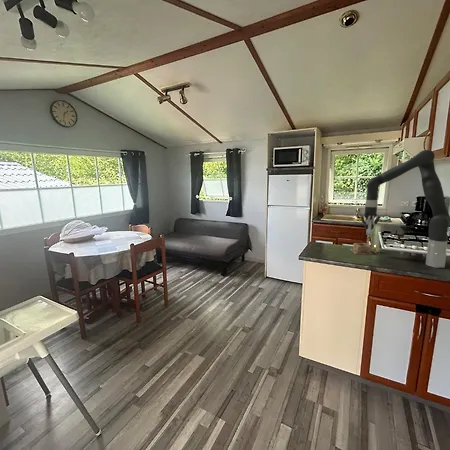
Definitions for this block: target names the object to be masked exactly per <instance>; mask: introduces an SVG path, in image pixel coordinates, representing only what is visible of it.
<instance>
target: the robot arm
mask: <svg viewBox="0 0 450 450" xmlns="http://www.w3.org/2000/svg"><path fill="white" fill-rule="evenodd" d="M434 161H435V152H434V151H432V150H431V149H423V150H420V151H419V152H418V153H417V154H416V155H414V156H413V157H411V158H409V159H408V160H407V161H404V162H402V163H401V164H398V165H396V166H393V167H392V168H389V169H388V170H386V171H384V172H382V173H380V174H378V175H376V176H374V177H372V178H370V179H369V180H368V181H367V189H366V191H367V192H366V199H365V204H364V205H365V207H364V214H363V215H360V216H359V218H360V220H361V223H362V224H363V225H364V229H365V230H367V229H368V225H367V224H368V222H369V219H372V228H371V231H372V230H374V227H375V225H377V224H378V222H379V221H380V219H381V216H380V215H378V214H377V212H378V203H379V202H378V200H379V199H378V198H379V193H378V192H379V186H381V185H383V184H385V183H388V182H390V181H393V180H394V179H397V178H399V177H400V176H402V175H404V174H405V173H407V172H409V171H411V170H413V169H415V168H417V167H418V169H419V172H420V175H421V176H420V177H421V185H422V189H423V190H422V191H423V193H424V197H425V199H426V201H427V203H428V204H429V206H430V208H431V212H432V217H431V218H430V220H429V223H428V224H429V225H428V240H427V241H428V242H427V249H426V258H425V265H426V266H429V267H432V268H437V269H438V268H442V269H444V268H446V267H445V266H446V260H447V247H448V238H449V237H448V231H449V227H450V214H449V211H448V208H447V206H446V205H447V204H446V199H445V194H444V190H443V186H442V182H441V180H440V178H439V176H438V174H437V172H436V169H435V162H434Z"/></svg>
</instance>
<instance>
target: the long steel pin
mask: <svg viewBox="0 0 450 450" xmlns="http://www.w3.org/2000/svg"><path fill="white" fill-rule="evenodd" d="M367 225H368V229H367V230H366V229H365V230H366V233H365V235H366V236H371V235H372V230H371V228H372V219H369V222H368V224H367Z"/></svg>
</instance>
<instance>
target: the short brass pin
mask: <svg viewBox="0 0 450 450" xmlns="http://www.w3.org/2000/svg"><path fill="white" fill-rule="evenodd" d="M379 247H380V246H379V244H377V243H376V244H374V245H373V254H379Z"/></svg>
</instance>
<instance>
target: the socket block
mask: <svg viewBox="0 0 450 450" xmlns="http://www.w3.org/2000/svg"><path fill="white" fill-rule="evenodd" d="M352 246H353V248H350V251H351V252H352V253H353V254H355V255H366V256H367V255H374V252H372V251H371V246H370V245H369V244H368V243H366V242H365V243H362V242H360V243H359V242H358V243H357V242H355V243H353V245H352Z"/></svg>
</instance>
